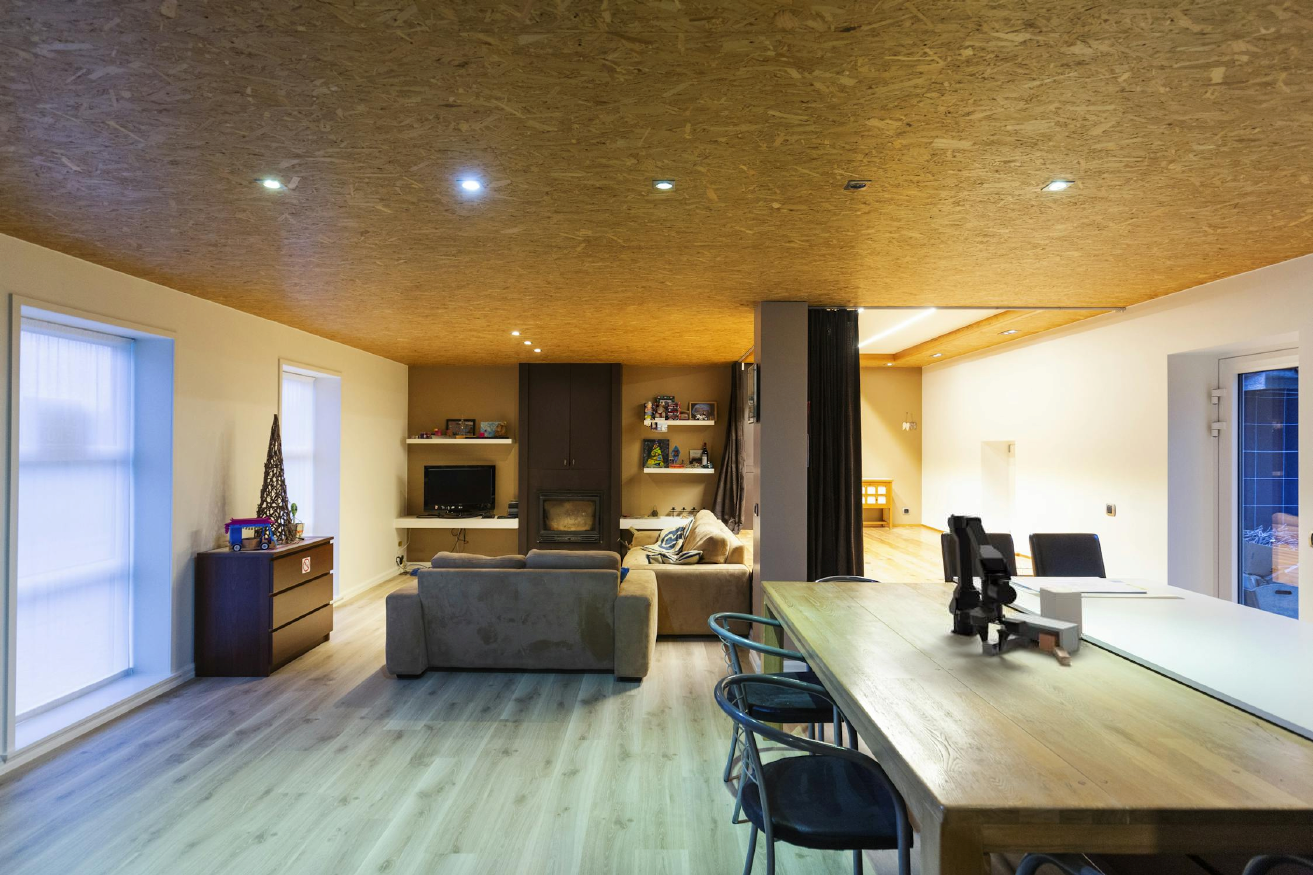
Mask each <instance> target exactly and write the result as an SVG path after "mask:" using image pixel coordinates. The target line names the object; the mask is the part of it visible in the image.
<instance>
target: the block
mask: <svg viewBox="0 0 1313 875" xmlns="http://www.w3.org/2000/svg"><path fill="white" fill-rule="evenodd" d="M1038 643H1039V644H1038V648H1039V649H1040V650H1045V651H1049V652H1053V647H1060V635H1059V634H1055V633H1050V632H1044V633H1040V634H1039V641H1038Z"/></svg>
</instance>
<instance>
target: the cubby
mask: <svg viewBox="0 0 1313 875" xmlns="http://www.w3.org/2000/svg"><path fill="white" fill-rule="evenodd" d="M1014 618H1015V619H1020V620H1024V621H1026V622H1027V624H1028V631H1024V632H1021V633H1015V634H1020V635H1024V636H1029V637H1030V640H1033V641H1036V642H1037V641H1038V642H1039V634H1040V633H1044V632H1050V633H1055V634H1059V635H1060V647H1063V648H1064V650H1065V651H1066V652H1067V654H1068V653H1069V654H1070V653H1072V652H1075V651H1078V650H1080V638H1079V624H1074V623H1069V622H1063V621H1058V620H1053V619H1048V618H1043V617H1041V616H1037V615H1032V614H1027V613H1024V612H1023V613H1022V612H1018V613H1013V614H1009V615H1005V618H1003V620H1010V619H1014ZM1012 633H1014V632H1012Z"/></svg>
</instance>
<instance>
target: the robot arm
mask: <svg viewBox="0 0 1313 875" xmlns="http://www.w3.org/2000/svg"><path fill="white" fill-rule="evenodd" d="M946 522H947V527H948V529H949V534H950V535H951V536H952V538H953V540H954V541H955V554H956V555H955V556H956V558H955V559H956V560H955V561H956V572H957V573H956V574H957V585H956V586H955V587H954V589H953V591H952V598H951V600H950V602H949V604H948V612H949V613H950V614H951V615H952V616H953V629H951V630H950V632H951V633H955V634H958V635H962V636H966V637H970V636H973V635H978V636H979V639H980V642H981V643H982V642H984V641H987V640H989V626H990V624H992V625H996V626H997V625H998V626H1000V627H999V628H998V629H996V630H995V631H996V632H997V634H998V637H997V638H998V648H999V651H1000V652H1001V651H1002V650H1003V648H1004V646H1005V644H1006V642H1007V639H1008V638H1009V636H1010V634H1011V633H1012V632H1014V633H1021V632H1024V631H1028V624H1027V622H1026V621H1024V620H1020V619H1015V618H1014V619H1010V620H1004V618H1005V616H1006V614H1004V610H1003V609H1004V605H1005V606H1007V605H1012V604H1014V603H1015V601H1016V600H1017V598H1018V593H1017V590H1016V589H1015V587H1013V586H1012V585H1010V582H1011V581H1012V572H1011V570H1010V568H1009V566H1008V563H1007V561H1006V559H1005V558H1004V556H1003V555H1002V554H1001V552H1000V551H998V550H997V549H996V548H994V547H993V545H992V543H991V540H990V539H989V537H988V534H987V533H986V530H985V529H984V526H983V523H982V522H983V521H982V518H981V517H980V516H978V515H973V514H971V513H952V514H950V516H949V517H947V521H946ZM972 546H973V548H974V551H975V552H976V556H977V557H976V558H975V567H976V570H977V572H978V573H979V580H980V590H981V591H979V589H977V588H976V586H975V585H974V572H973V571H974V570H973V558H972Z"/></svg>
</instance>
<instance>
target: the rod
mask: <svg viewBox="0 0 1313 875" xmlns="http://www.w3.org/2000/svg"><path fill="white" fill-rule="evenodd" d="M1052 652H1053V654H1052V655H1053V656H1054V657H1055V658H1056V660H1057V661H1058V664H1060V665H1069V666H1071V656H1070V655H1069V654H1068V653H1067V652H1066V651H1065V650H1064V648H1063V647H1053V651H1052Z"/></svg>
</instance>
